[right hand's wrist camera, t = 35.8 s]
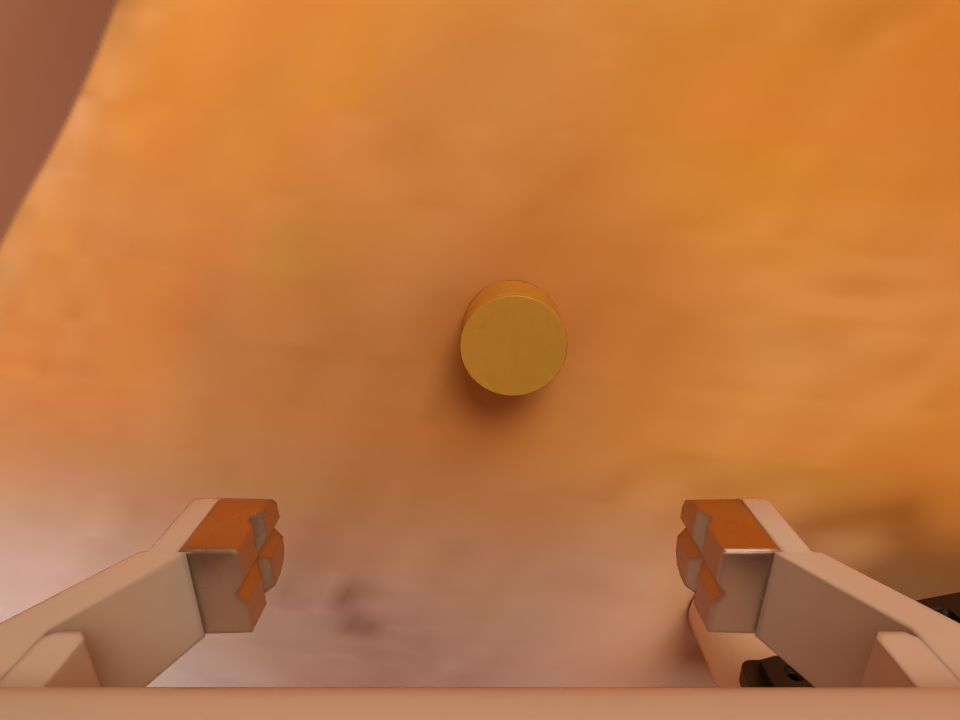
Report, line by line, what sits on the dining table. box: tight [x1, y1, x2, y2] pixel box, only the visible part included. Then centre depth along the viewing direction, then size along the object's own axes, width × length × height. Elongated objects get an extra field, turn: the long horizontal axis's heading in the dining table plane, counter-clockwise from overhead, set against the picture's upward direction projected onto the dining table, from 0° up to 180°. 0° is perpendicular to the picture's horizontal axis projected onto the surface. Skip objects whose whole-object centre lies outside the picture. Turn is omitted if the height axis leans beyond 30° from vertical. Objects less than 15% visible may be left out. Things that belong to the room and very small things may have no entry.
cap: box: [460, 281, 567, 396], centre depth 20 cm, size 4×4×2 cm
